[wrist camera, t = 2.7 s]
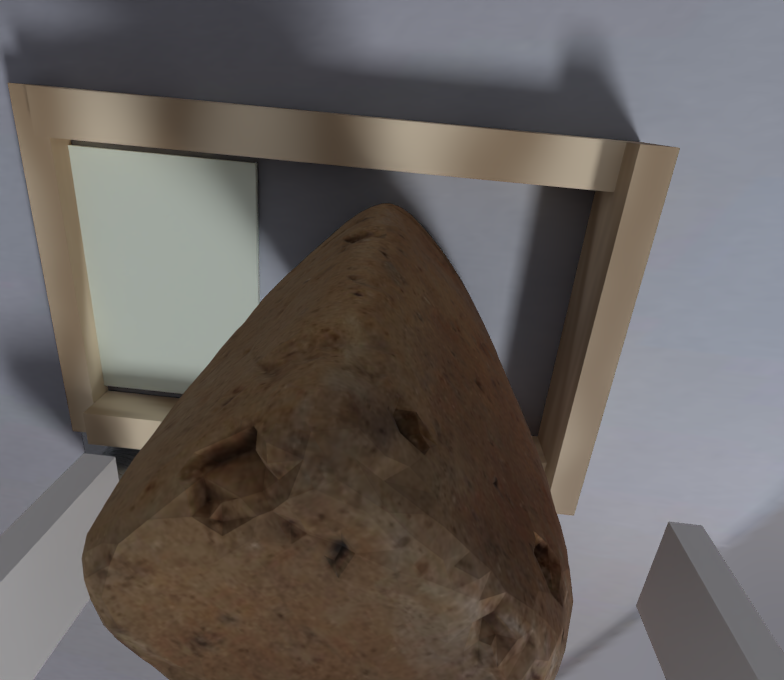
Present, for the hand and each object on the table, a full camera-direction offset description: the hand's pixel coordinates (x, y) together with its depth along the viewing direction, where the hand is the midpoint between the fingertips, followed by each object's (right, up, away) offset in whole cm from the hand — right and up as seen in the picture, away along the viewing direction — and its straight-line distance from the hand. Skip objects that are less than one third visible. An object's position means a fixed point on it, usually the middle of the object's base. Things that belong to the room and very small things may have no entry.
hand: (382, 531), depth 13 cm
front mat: (-11, +8, +15) cm, 20 cm away
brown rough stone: (+1, +6, +15) cm, 16 cm away
